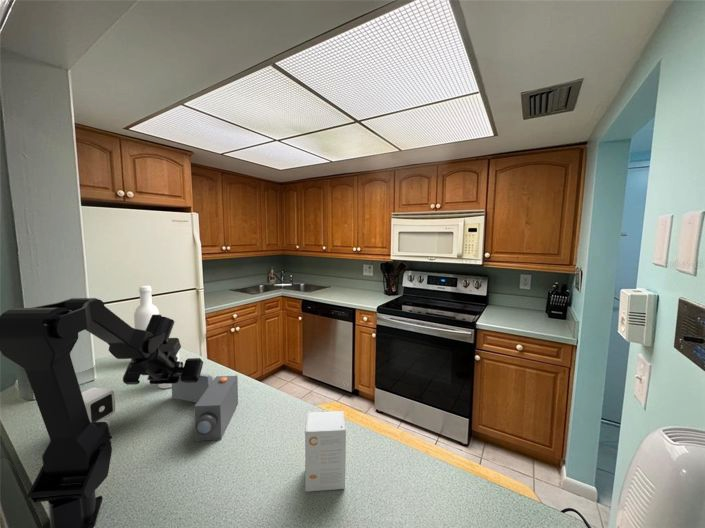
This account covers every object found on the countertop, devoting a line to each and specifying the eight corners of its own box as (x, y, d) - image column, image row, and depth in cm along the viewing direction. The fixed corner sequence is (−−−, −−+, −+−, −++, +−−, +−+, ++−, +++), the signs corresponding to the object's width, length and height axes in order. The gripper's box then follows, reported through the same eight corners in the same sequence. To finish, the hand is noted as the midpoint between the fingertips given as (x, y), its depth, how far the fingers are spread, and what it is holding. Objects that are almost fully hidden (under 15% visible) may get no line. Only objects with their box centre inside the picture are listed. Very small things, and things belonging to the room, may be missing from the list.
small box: (343, 464, 63) (344, 410, 62) (345, 490, 57) (346, 429, 56) (306, 466, 63) (307, 411, 61) (304, 492, 56) (304, 431, 55)
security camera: (90, 442, 68) (86, 403, 67) (67, 437, 70) (63, 399, 68) (116, 425, 74) (114, 389, 73) (95, 421, 76) (92, 385, 75)
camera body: (218, 446, 68) (216, 407, 67) (184, 448, 67) (182, 409, 66) (238, 403, 85) (237, 372, 84) (212, 404, 84) (211, 372, 83)
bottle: (159, 356, 115) (155, 283, 112) (164, 362, 110) (160, 286, 107) (134, 362, 109) (129, 286, 106) (138, 369, 104) (134, 289, 101)
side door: (213, 401, 85) (212, 373, 84) (208, 404, 83) (207, 376, 83) (177, 394, 88) (175, 367, 88) (172, 397, 87) (170, 370, 86)
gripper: (200, 331, 79) (214, 353, 91) (127, 332, 77) (152, 355, 89) (188, 372, 72) (205, 390, 84) (108, 374, 70) (137, 392, 82)
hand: (175, 380), depth 85 cm, fingers closed
